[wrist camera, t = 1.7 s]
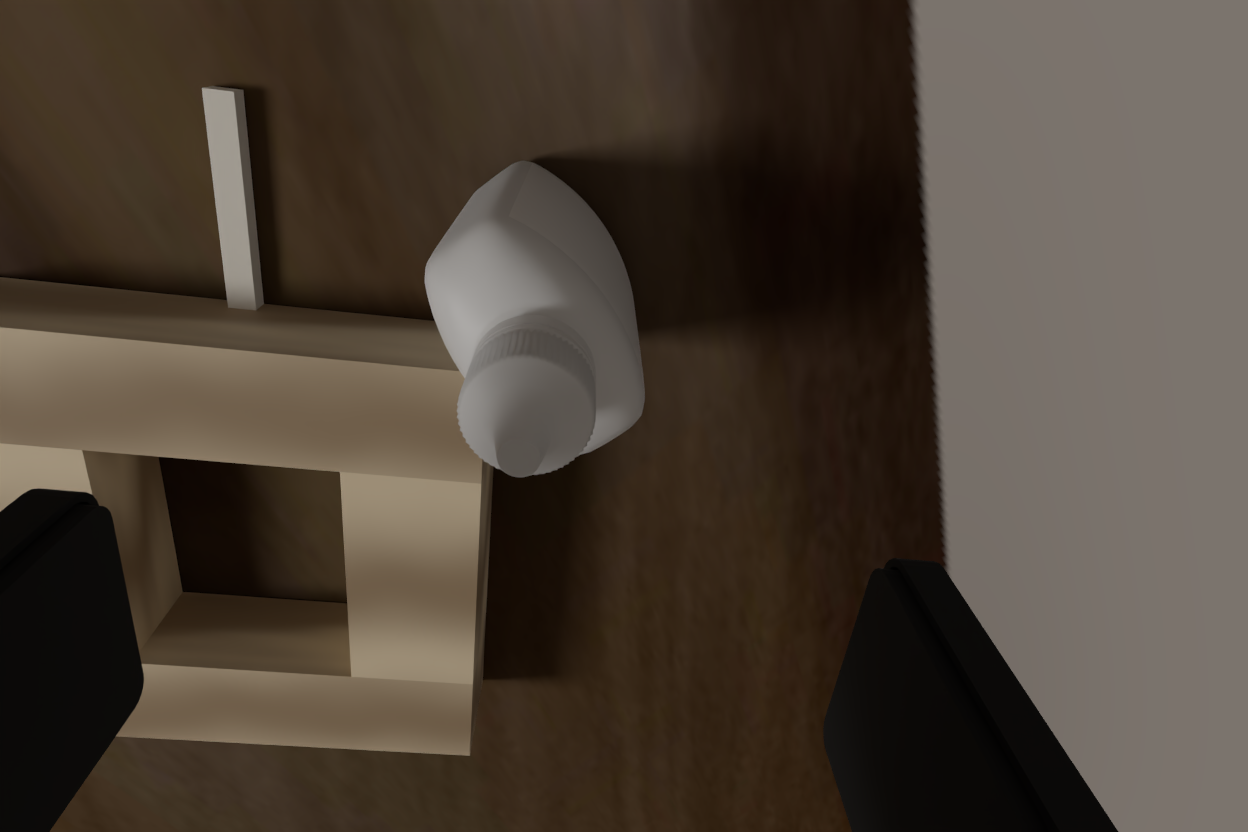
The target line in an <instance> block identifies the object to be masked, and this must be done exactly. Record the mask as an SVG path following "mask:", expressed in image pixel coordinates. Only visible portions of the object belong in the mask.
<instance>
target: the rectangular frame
mask: <svg viewBox="0 0 1248 832" xmlns="http://www.w3.org/2000/svg"><path fill="white" fill-rule="evenodd" d="M464 380H465V378H464V377H463V375H462V374H461V372H460V371H459V369H458V368H457V366H456V364H455V363H454V361H453V359H452V357H451V356H450V354H449V352H448V350H447V348H446V346H445V344H444V342H443V339H442V337H441V335H440V332H439V330H438V328H437V325H436V322H435V321H429V320H419V319H409V318H400V317H390V316H380V315H370V314H360V313H350V312H340V311H330V310H320V309H310V308H301V307H291V306H281V305H271V304H263V305H262V306H261V307H260V308H258V309H257V310H247V309H237V308H228V303H227V300H221V299H212V298H202V297H192V296H182V295H172V294H162V293H152V292H142V291H132V290H123V289H113V288H103V287H93V286H83V285H73V284H63V283H53V282H43V281H33V280H24V279H14V278H4V277H0V511H2V510H3V509H4V508H5V507H7V506H8V505H9V504H11V503H12V502H13V501H14V500H16V499H17V498H18V497H19V496H21V495H22V494H23V493H25V492H27V491H29V490H31V489H38V488H40V489H53V490H65V491H77V492H87V493H89V494H92V495H93V496H94V497H95V498H96V500H97V501H98V504H99V506H104V507H106V508H108V510H109V511H110V512H111V515H112V518H113V523H114V528H115V533H116V538H117V543H118V548H119V553H120V558H121V563H122V568H123V573H124V578H125V583H126V588H127V593H128V598H129V603H130V608H131V613H132V618H133V623H134V628H135V633H136V638H137V643H138V648H139V653H140V658H141V663H142V668H143V673H144V685H143V690H142V694H141V697H140V700H139V702H138V704H137V706H136V707H135V709H134V711H133V712H132V714H131V715H130V716H129V718H128V719H127V721H126V722H125V724H124V725H123V726H122V728H121V729H120V731H119V732H118V734H117V735H116V736H120V737H139V738H157V739H175V740H193V741H212V742H230V743H248V744H267V745H285V746H303V747H322V748H340V749H358V750H376V751H395V752H413V753H431V754H450V755H468V756H470V751H471V745H472V740H473V734H474V728H475V722H476V716H477V711H478V705H479V699H480V693H481V687H482V682H483V664H484V644H485V624H486V605H487V585H488V565H489V545H490V525H491V505H492V486H493V466H491V465H489V463H487V462H484V460H483V459H481V458H479V456H478V455H477V454H475V453H474V450H472V449H471V448H469V447H470V445H469V444H467V443H466V439H465V438H464V437H463V436H462V435H463V433H462V432H461V431H460V428H461V427H460V426H459V425H458V422H459V420H458V418H457V415H458V413H457V408H458V406H457V403H458V400H459V399H458V397H459V394H460V391H461V388H462V385H463V382H464ZM159 457H169V458H181V459H193V460H204V461H216V462H228V463H240V464H252V465H264V466H276V467H288V468H300V469H312V470H323V471H335V472H340V480H341V498H342V516H343V534H344V552H345V570H346V588H347V603H335V602H320V601H306V600H292V599H277V598H263V597H249V596H235V595H220V594H206V593H192V592H183V590H182V585H181V579H180V574H179V568H178V562H177V557H176V551H175V546H174V540H173V534H172V529H171V523H170V518H169V512H168V506H167V501H166V495H165V490H164V484H163V478H162V473H161V467H160V462H159Z"/></svg>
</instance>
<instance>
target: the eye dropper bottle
mask: <svg viewBox="0 0 1248 832" xmlns="http://www.w3.org/2000/svg"><path fill="white" fill-rule="evenodd" d="M425 287H426V291H427V296H428V300H429V304H430V307H431V311H432V314H433V317H434V319H435V322H436V325H437V328H438V330H439V332H440V335H441V337H442V339H443V342H444V344H445V346H446V348H447V350H448V352H449V354H450V356H451V357H452V359H453V361H454V363H455V364H456V366H457V368H458V369H459V371H460V372H461V374H462V375H463V377H464V378H465V380H464V382H463V385H462V388H461V391H460V394H459V397H458V399H459V400H458V403H457V406H458V408H457V413H458V415H457V418H458V420H459V422H458V425H459V426H460V427H461V428H460V431H461V432H462V433H463V435H462V436H463V437H464V438H465V439H466V443H467V444H469V445H470V447H469V448H471V449H472V450H474V453H475V454H477V455H478V456H479V458H481V459H483V460H484V462H487V463H489V465H491V466H494V467H495V468H496V469H501V470H502V471H503V472H505V473H506V474H508V475H510V476H513V477H527V476H531V475H538V474H545V473H551V472H552V471H555V470H558V468H563V467H564V465H567V464H569V462H570V461H573V460H574V458H575V457H578V456H579V455H581V454H585V453H589V452H591V451H593V450H595V449H597V448H599V447H601V446H603V445H604V444H606V443H608V442H609V441H611V440H613V439H614V438H616V437H617V436H619V435H620V434H622V433H623V432H625V431H626V430H628V429H629V428H630V427H632V426H633V425H634V423H635V422H636V421H637V420H638V419H639V417H640V416H641V415H642V411H643V406H644V401H645V391H644V378H643V370H642V361H641V353H640V345H639V337H638V329H637V322H636V314H635V306H634V299H633V293H632V289H631V284H630V281H629V277H628V274H627V271H626V268H625V265H624V263H623V260H622V258H621V255H620V253H619V251H618V249H617V247H616V245H615V243H614V241H613V239H612V237H611V236H610V234H609V232H608V231H607V229H606V228H605V226H604V224H603V223H602V222H601V220H600V219H599V218H598V216H597V215H596V214H595V212H594V211H593V210H592V209H591V208H590V206H589V205H588V204H587V203H586V202H585V201H584V200H583V199H582V198H581V197H580V196H579V195H578V194H577V193H576V192H575V191H574V190H573V189H571V188H570V187H569V186H568V185H567V184H566V183H564V182H563V181H562V180H560V179H559V178H558V177H556V176H555V175H554V174H552V173H551V172H549V171H548V170H546V169H544V168H543V167H541V166H539V165H537V164H535V163H533V162H528V161H523V160H522V161H519V162H516V163H513V164H512V165H510V166H509V167H507V168H506V169H504V170H503V171H502V172H500V173H499V174H498V175H496V176H495V177H493V178H492V179H491V180H489V181H488V182H487V183H485V184H484V185H483V186H482V187H481V188H479V189H478V190H477V191H476V192H475V193H474V194H473V195H472V197H471V198H470V200H469V201H468V202H467V204H466V205H465V207H464V208H463V210H462V211H461V212H460V214H459V215H458V217H457V218H456V219H455V221H454V222H453V224H452V225H451V227H450V228H449V230H448V231H447V233H446V234H445V235H444V237H443V238H442V240H441V241H440V243H439V244H438V246H437V247H436V249H435V250H434V252H433V254H432V255H431V257H430V259H429V260H428V262H427V264H426V268H425Z"/></svg>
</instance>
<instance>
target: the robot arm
mask: <svg viewBox="0 0 1248 832" xmlns="http://www.w3.org/2000/svg"><path fill="white" fill-rule="evenodd" d="M143 685H144V673H143V668H142V663H141V658H140V653H139V648H138V643H137V638H136V633H135V628H134V623H133V618H132V613H131V608H130V603H129V598H128V593H127V588H126V583H125V578H124V573H123V568H122V563H121V558H120V553H119V548H118V543H117V538H116V533H115V528H114V523H113V518H112V515H111V512H110V511H109V510H108V508H106V507H104V506H99V504H98V501H97V500H96V498H95V497H94V496H93V495H92V494H89V493H87V492H77V491H65V490H53V489H40V488H38V489H31V490H29V491H27V492H25V493H23V494H22V495H21V496H19V497H18V498H17V499H16V500H14V501H13V502H12V503H11V504H9V505H8V506H7V507H5V508H4V509H3V510H2V511H0V832H49V831H50V830H51V828H52V827H53V826H54V824H55V823H56V821H57V820H58V818H59V817H60V815H61V814H62V813H63V811H64V810H65V808H66V807H67V805H68V804H69V803H70V801H71V800H72V798H73V797H74V795H75V794H76V792H77V791H78V790H79V788H80V787H81V785H82V784H83V782H84V781H85V780H86V778H87V777H88V775H89V774H90V772H91V771H92V770H93V768H94V767H95V765H96V764H97V762H98V761H99V759H100V758H101V757H102V755H103V754H104V752H105V751H106V749H107V748H108V747H109V745H110V744H111V742H112V741H113V739H114V738H115V736H116V735H117V734H118V732H119V731H120V729H121V728H122V726H123V725H124V724H125V722H126V721H127V719H128V718H129V716H130V715H131V714H132V712H133V711H134V709H135V707H136V706H137V704H138V702H139V700H140V697H141V694H142V690H143ZM823 731H824V744H825V748H826V752H827V755H828V758H829V761H830V765H831V768H832V771H833V774H834V777H835V780H836V783H837V786H838V789H839V792H840V795H841V798H842V802H843V805H844V808H845V811H846V814H847V817H848V820H849V823H850V826H851V829H852V832H1118V831H1117V829H1116V828H1115V826H1114V825H1113V823H1112V822H1111V820H1110V819H1109V817H1108V816H1107V814H1106V813H1105V811H1104V809H1103V808H1102V807H1101V805H1100V803H1099V802H1098V800H1097V799H1096V798H1095V796H1094V794H1093V793H1092V791H1091V790H1090V788H1089V787H1088V785H1087V784H1086V782H1085V781H1084V779H1083V778H1082V776H1081V775H1080V773H1079V772H1078V770H1077V769H1076V767H1075V766H1074V764H1073V763H1072V761H1071V760H1070V758H1069V757H1068V755H1067V754H1066V752H1065V751H1064V749H1063V748H1062V746H1061V745H1060V743H1059V742H1058V740H1057V739H1056V737H1055V736H1054V734H1053V732H1052V731H1051V730H1050V728H1049V726H1048V725H1047V723H1046V722H1045V720H1044V719H1043V717H1042V716H1041V715H1040V713H1039V711H1038V710H1037V708H1036V707H1035V705H1034V704H1033V702H1032V701H1031V699H1030V698H1029V696H1028V695H1027V693H1026V692H1025V690H1024V689H1023V687H1022V686H1021V684H1020V683H1019V681H1018V680H1017V678H1016V677H1015V675H1014V674H1013V672H1012V671H1011V669H1010V668H1009V666H1008V665H1007V663H1006V662H1005V660H1004V659H1003V657H1002V656H1001V654H1000V653H999V651H998V649H997V648H996V646H995V645H994V643H993V642H992V640H991V639H990V637H989V636H988V634H987V633H986V631H985V630H984V628H983V627H982V626H981V624H980V622H979V621H978V619H977V618H976V616H975V615H974V613H973V612H972V610H971V609H970V607H969V606H968V604H967V603H966V601H965V600H964V598H963V597H962V595H961V594H960V592H959V591H958V589H957V588H956V586H955V585H954V583H953V582H952V580H951V578H950V577H949V575H948V574H947V572H946V571H945V569H944V568H943V567H942V566H941V565H940V564H939V563H937V562H934V561H922V560H909V559H897V558H894V559H891V560H889V561H888V562H887V563H886V565H885V567H884V569H880V568H878V569H875V570H874V571H873V572H872V574H871V576H870V579H869V582H868V585H867V588H866V591H865V594H864V598H863V601H862V604H861V607H860V610H859V613H858V616H857V620H856V623H855V626H854V629H853V632H852V635H851V638H850V641H849V645H848V648H847V651H846V654H845V657H844V660H843V663H842V667H841V670H840V673H839V676H838V679H837V682H836V685H835V688H834V692H833V695H832V698H831V701H830V704H829V707H828V710H827V714H826V717H825V721H824V730H823Z"/></svg>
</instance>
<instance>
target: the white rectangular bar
mask: <svg viewBox="0 0 1248 832" xmlns="http://www.w3.org/2000/svg"><path fill="white" fill-rule="evenodd" d="M202 93H203V102H204V110H205V118H206V127H207V135H208V144H209V152H210V160H211V169H212V177H213V186H214V194H215V202H216V211H217V219H218V228H219V236H220V244H221V253H222V261H223V270H224V278H225V286H226V295H227V303H228V308H237V309H247V310H257V309H258V308H260V307H261V306H262V305H263V304H264V299H263V289H262V278H261V268H260V258H259V247H258V237H257V227H256V216H255V206H254V196H253V185H252V175H251V165H250V154H249V144H248V134H247V123H246V113H245V103H244V92H243V90H240V89H232V88H224V87H216V86H210V87H204V88H202Z"/></svg>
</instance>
